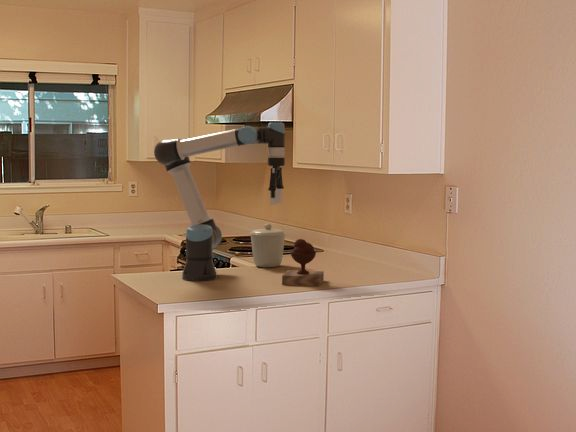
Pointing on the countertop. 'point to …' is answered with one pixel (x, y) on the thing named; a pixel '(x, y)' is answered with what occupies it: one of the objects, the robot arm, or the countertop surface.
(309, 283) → the walnut base
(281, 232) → the canister
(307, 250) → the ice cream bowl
